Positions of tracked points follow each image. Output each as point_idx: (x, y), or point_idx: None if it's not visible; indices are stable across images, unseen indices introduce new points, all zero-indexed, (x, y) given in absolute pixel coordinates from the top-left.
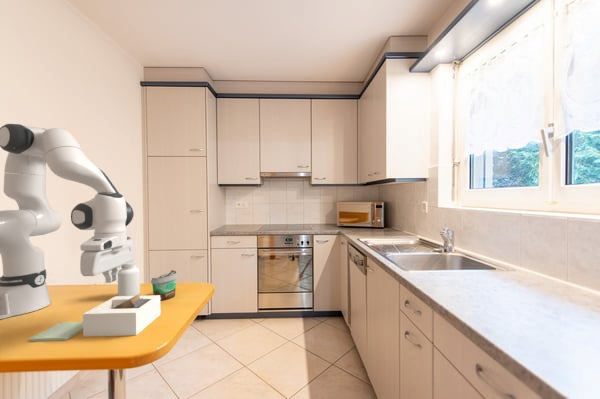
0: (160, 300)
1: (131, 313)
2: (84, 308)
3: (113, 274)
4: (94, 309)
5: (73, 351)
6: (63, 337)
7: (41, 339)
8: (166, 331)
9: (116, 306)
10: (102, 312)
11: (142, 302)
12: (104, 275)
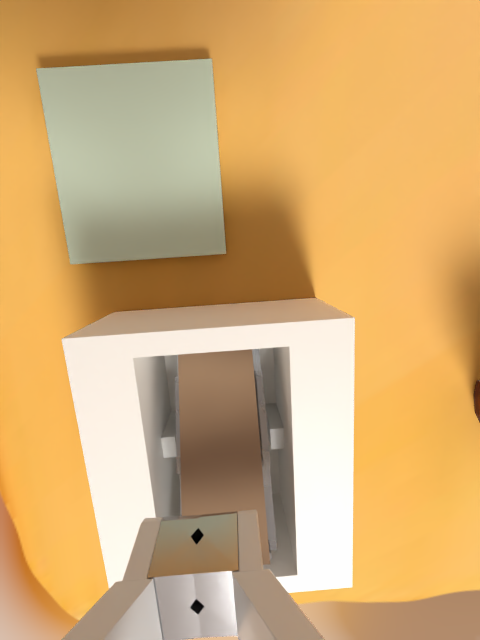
0: (478, 412)
1: (111, 584)
2: (426, 4)
3: (243, 619)
4: (129, 356)
5: (13, 369)
6: (70, 247)
7: (50, 140)
8: None
9: (201, 436)
10: (94, 441)
11: None
12: (74, 638)
